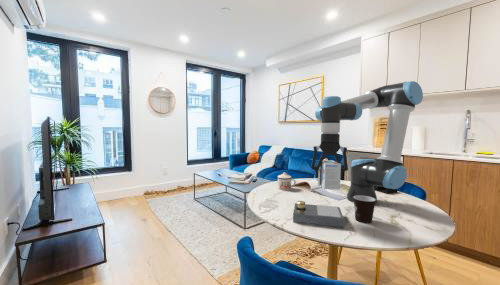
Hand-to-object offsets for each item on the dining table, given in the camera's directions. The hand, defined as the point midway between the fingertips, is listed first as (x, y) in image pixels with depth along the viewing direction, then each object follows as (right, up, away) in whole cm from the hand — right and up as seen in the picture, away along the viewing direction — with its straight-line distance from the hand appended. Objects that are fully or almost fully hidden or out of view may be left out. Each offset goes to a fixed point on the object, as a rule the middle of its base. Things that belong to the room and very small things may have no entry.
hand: (328, 185), depth 98 cm
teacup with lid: (-10, -13, +50) cm, 52 cm away
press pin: (-11, -12, +4) cm, 17 cm away
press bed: (-4, -15, +2) cm, 16 cm away
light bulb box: (0, 0, 0) cm, 0 cm away
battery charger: (+52, -14, +49) cm, 72 cm away
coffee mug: (+16, -16, +2) cm, 23 cm away
